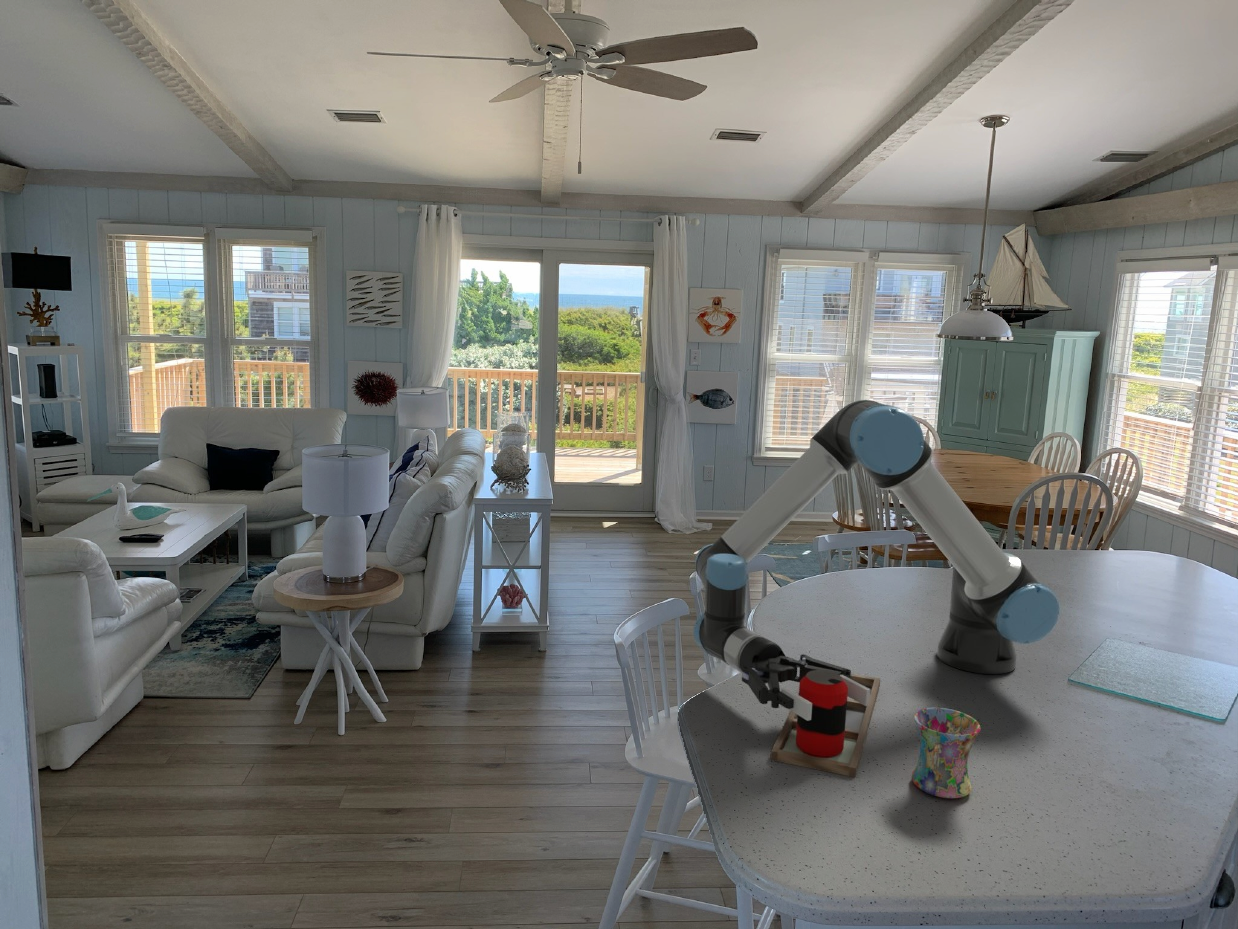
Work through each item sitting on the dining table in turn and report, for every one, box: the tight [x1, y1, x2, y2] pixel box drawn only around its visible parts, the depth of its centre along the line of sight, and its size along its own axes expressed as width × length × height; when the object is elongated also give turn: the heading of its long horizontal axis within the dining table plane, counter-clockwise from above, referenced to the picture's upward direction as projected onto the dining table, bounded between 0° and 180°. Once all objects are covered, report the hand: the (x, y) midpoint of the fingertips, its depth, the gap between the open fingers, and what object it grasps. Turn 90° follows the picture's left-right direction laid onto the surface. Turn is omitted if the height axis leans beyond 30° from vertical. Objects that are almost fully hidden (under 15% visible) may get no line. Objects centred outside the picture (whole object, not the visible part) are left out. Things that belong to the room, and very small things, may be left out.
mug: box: [911, 707, 981, 799], centre depth 130 cm, size 12×9×11 cm
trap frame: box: [770, 673, 881, 778], centre depth 153 cm, size 13×37×2 cm, turn 158°
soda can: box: [796, 670, 848, 758], centre depth 141 cm, size 8×8×12 cm
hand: (839, 704), depth 137 cm, fingers open, 11 cm apart
